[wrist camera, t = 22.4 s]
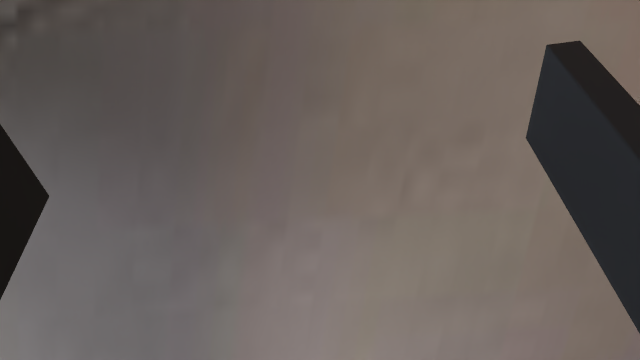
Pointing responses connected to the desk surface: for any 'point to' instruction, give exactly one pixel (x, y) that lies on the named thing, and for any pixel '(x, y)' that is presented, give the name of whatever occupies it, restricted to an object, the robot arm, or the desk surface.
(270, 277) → the desk surface
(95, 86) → the desk surface
